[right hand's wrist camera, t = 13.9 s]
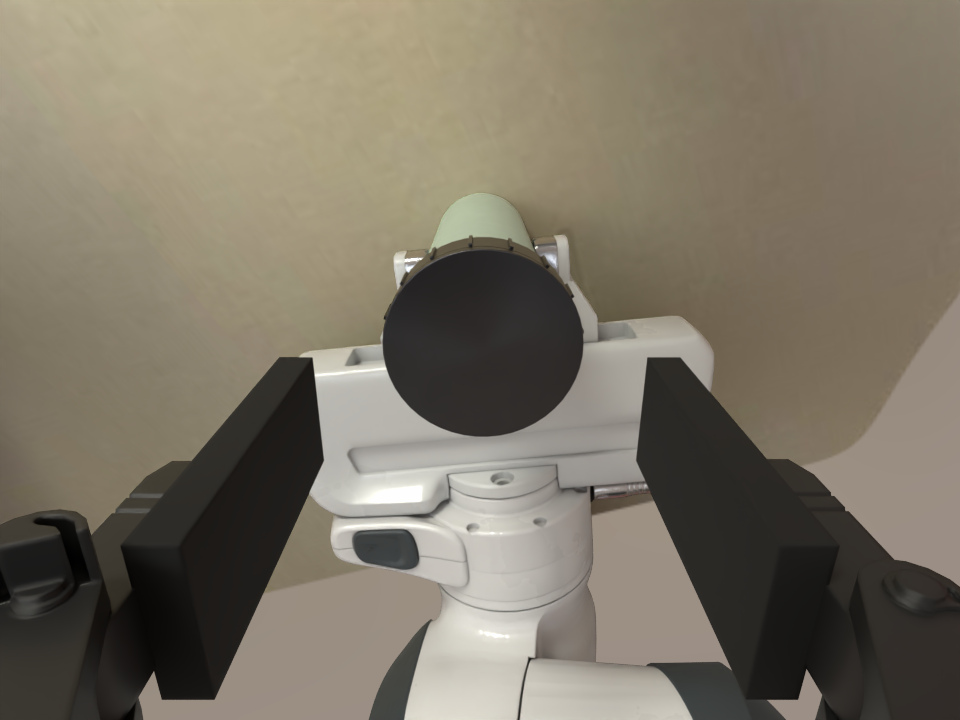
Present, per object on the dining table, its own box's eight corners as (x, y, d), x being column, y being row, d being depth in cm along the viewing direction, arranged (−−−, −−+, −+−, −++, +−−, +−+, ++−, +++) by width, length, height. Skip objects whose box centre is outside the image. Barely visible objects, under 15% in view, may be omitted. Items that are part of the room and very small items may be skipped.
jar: (530, 196, 32) (575, 269, 17) (521, 283, 34) (554, 421, 19) (440, 189, 32) (403, 256, 17) (435, 277, 34) (399, 411, 18)
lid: (588, 242, 18) (599, 256, 16) (563, 417, 20) (570, 444, 18) (391, 228, 18) (382, 239, 16) (387, 405, 20) (379, 431, 18)
